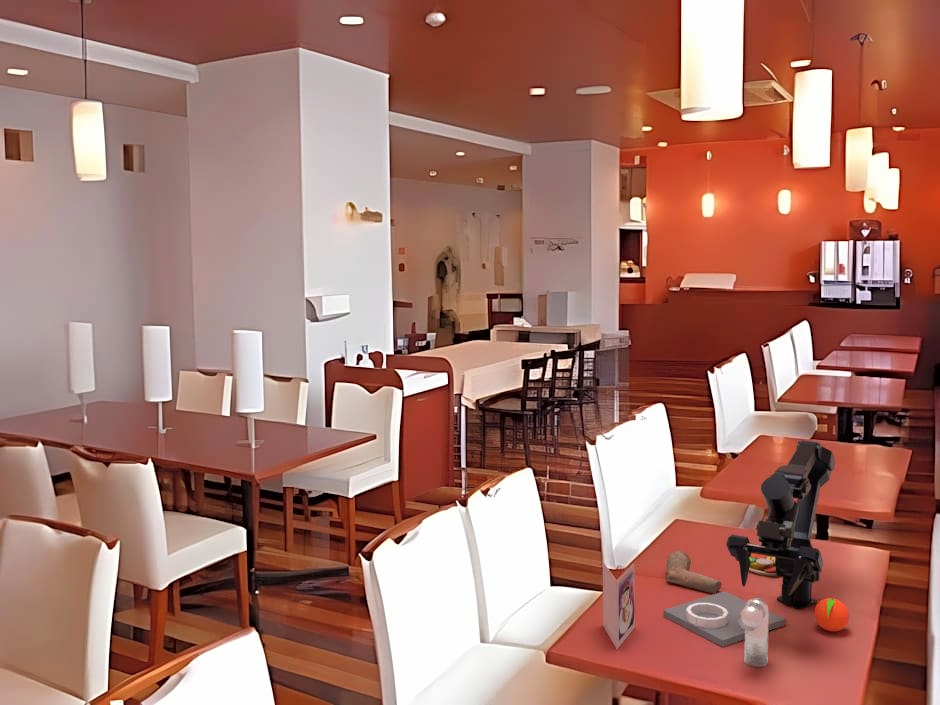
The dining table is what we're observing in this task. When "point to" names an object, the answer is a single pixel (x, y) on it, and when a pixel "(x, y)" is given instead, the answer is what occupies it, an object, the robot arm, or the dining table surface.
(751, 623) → the chrome ball-end rod
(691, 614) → the duct flange
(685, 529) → the dining table surface
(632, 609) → the greeting card
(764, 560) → the toy food set
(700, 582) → the pipe
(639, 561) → the dining table surface
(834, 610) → the clementine
